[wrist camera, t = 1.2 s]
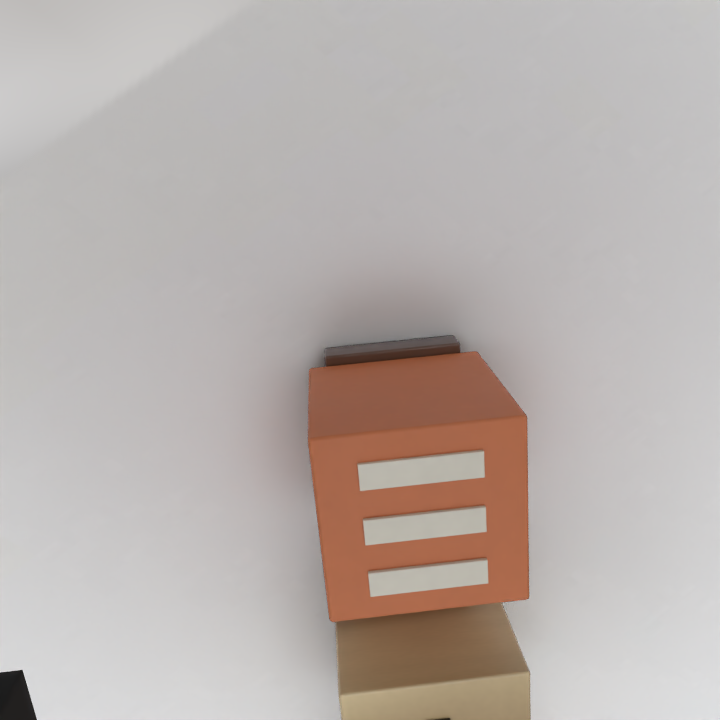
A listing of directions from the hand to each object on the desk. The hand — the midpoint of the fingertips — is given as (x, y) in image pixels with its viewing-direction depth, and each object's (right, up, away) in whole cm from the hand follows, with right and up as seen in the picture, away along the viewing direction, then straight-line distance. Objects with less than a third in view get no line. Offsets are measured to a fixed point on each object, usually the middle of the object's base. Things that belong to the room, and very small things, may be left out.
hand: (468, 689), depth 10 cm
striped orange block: (-1, +3, +8) cm, 9 cm away
